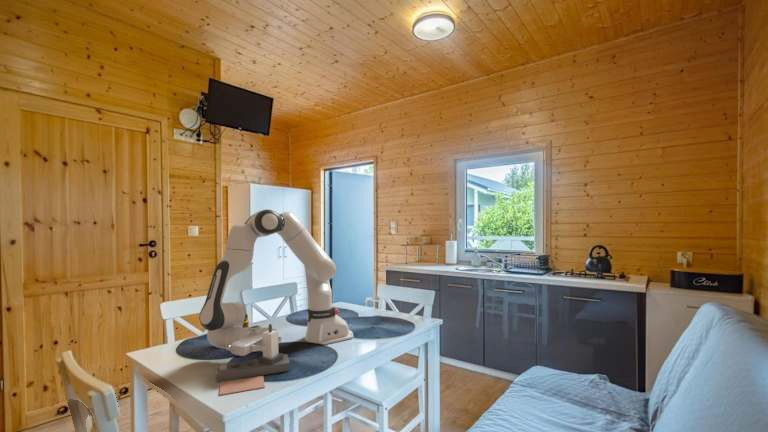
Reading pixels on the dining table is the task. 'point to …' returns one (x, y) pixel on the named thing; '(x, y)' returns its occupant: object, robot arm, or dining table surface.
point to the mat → (241, 385)
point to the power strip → (252, 367)
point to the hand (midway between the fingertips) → (272, 343)
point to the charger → (270, 343)
